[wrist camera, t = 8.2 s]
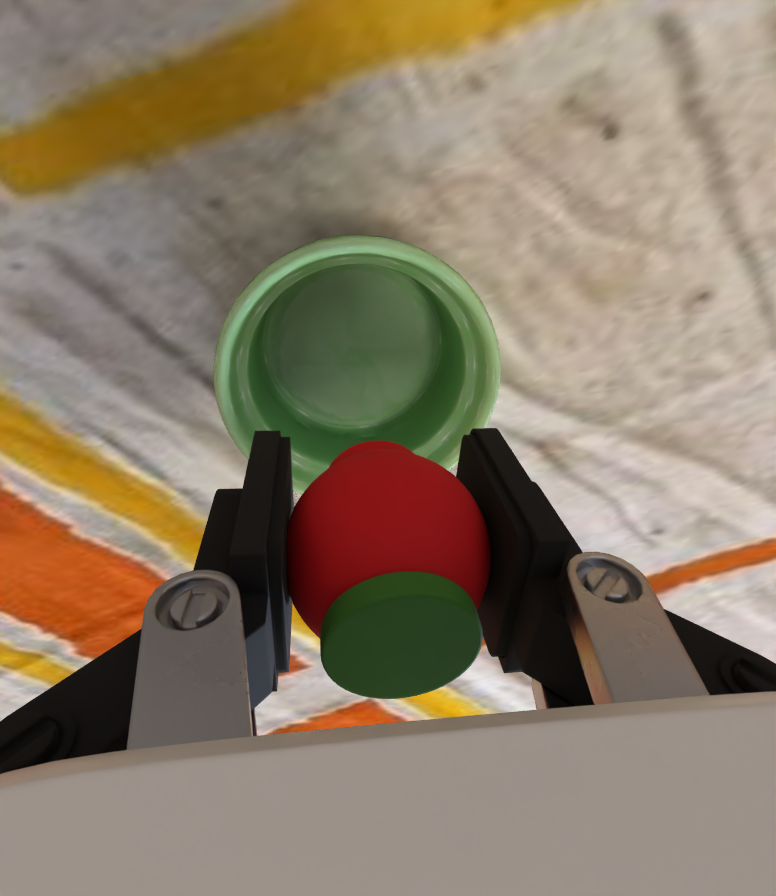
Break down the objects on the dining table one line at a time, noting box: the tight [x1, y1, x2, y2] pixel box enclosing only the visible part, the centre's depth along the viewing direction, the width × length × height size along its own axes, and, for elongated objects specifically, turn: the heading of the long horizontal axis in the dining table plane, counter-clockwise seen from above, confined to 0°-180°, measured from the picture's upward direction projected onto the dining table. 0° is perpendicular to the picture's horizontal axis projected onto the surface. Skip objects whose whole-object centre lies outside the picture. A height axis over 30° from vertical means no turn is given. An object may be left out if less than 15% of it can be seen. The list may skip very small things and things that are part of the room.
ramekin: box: [214, 235, 500, 494], centre depth 18 cm, size 9×9×4 cm
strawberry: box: [287, 440, 491, 699], centre depth 10 cm, size 4×4×5 cm
